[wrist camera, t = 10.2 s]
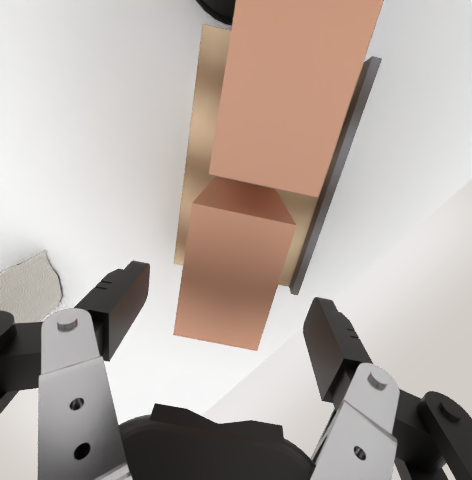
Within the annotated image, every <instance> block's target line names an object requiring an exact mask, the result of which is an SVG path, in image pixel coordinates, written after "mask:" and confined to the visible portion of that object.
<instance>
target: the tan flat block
mask: <svg viewBox="0 0 472 480" xmlns="http://www.w3.org/2000/svg"><path fill="white" fill-rule="evenodd" d="M230 35H231V31H230V30H226V29H222V28H218V27H213V26H209V25H205V24H203V26H202V34H201V42H200V51H199V59H198V67H197V75H196V84H195V92H194V100H193V108H192V117H191V125H190V133H189V141H188V150H187V158H186V166H185V175H184V183H183V191H182V199H181V208H180V216H179V224H178V232H177V241H176V249H175V257H174V264H178V265H183V264H184V257H185V250H186V243H187V236H188V229H189V221H190V214H191V207H192V203H193V202H194V200H195V199H196V198H197V197H198V196H199V195H200V194H201V192H202V191H203V190H204V189H205V188H206V187H207V186H208V184H209V183H210V182H211V181H212V180H213V179H214V178H215V177H219V178H223V179H228V180H233V181H237V182H242V183H246V184H251V185H256V186H260V187H265V188H269V189H274V190H276V191H277V192H278V194H279V196H280V198H281V199H282V201H283V203H284V204H285V206H286V208H287V210H288V211H289V213H290V215H291V216H292V218H293V220H294V222H295V223H296V225H297V226H296V229H295V232H294V236H293V239H292V242H291V245H290V248H289V251H288V255H287V258H286V261H285V264H284V267H283V270H282V273H281V277H280V280H279V283H278V284H279V285H284V286H289V288H290V291H291V294H294V295H298V293H299V290H300V287H301V285H302V282H303V279H304V276H305V273H306V271H307V268H308V265H309V262H310V259H311V257H312V254H313V251H314V248H315V245H316V242H317V240H318V237H319V234H320V231H321V228H322V226H323V223H324V220H325V217H326V214H327V212H328V209H329V206H330V203H331V200H332V197H333V195H334V192H335V189H336V186H337V183H338V181H339V178H340V175H341V172H342V169H343V167H344V164H345V161H346V158H347V155H348V153H349V150H350V147H351V144H352V141H353V138H354V136H355V133H356V130H357V127H358V124H359V122H360V119H361V116H362V113H363V110H364V108H365V105H366V102H367V99H368V96H369V93H370V91H371V88H372V85H373V82H374V79H375V77H376V74H377V71H378V68H379V65H380V63H381V60H382V59H381V58H377V57H371V58H370V59H368V60H367V61H365V62H363V64H362V67H361V70H360V73H359V76H358V79H357V82H356V85H355V88H354V91H353V94H352V97H351V100H350V103H349V106H348V109H347V112H346V115H345V118H344V121H343V124H342V127H341V130H340V133H339V136H338V139H337V142H336V145H335V148H334V151H333V154H332V157H331V160H330V163H329V166H328V169H327V172H326V175H325V178H324V181H323V184H322V187H321V190H320V193H319V196H318V197H314V196H309V195H305V194H300V193H295V192H291V191H286V190H281V189H277V188H272V187H267V186H262V185H258V184H253V183H248V182H244V181H239V180H234V179H230V178H225V177H220V176H216V175H211V174H209V169H210V162H211V156H212V150H213V143H214V137H215V131H216V124H217V118H218V112H219V105H220V99H221V93H222V86H223V80H224V73H225V67H226V61H227V54H228V48H229V42H230Z"/></svg>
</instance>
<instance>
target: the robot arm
mask: <svg viewBox="0 0 472 480" xmlns="http://www.w3.org/2000/svg"><path fill="white" fill-rule="evenodd" d="M149 274H150V265H149V264H148V263H143V262H138V261H132V262H131V263H130V264H129V265H128V266H127V267H126V268H125V269H124V270H123V269H117V270H115V271H113V272H111V273H108V274H107V275H106V276H105V277H104V278H103V279H102V280H101V282H99V283H98V284H97V285H96V287H95V288H93V289H92V290H91V291H90V292H89V293H88V294H87V295H86V296H85V297H84V298H83V299H82V300H81V301H80V302H79V303H78V304H77V305H76V306H75V307H74V308H70V309H64V310H61V311H58V312H56V313H54V314H52V315H50V316H49V317H48V318H47V319H46V320H45V321H44V322H30V323H15V319H14V316H13V315H12V314H11V313H10V312H7V311H1V310H0V413H1V412H2V411H3V410H4V408H5V407H6V406H7V405H8V404H9V402H10V401H11V400H12V399H13V397H14V396H15V395H16V394H17V393H18V391H19V390H25V389H33V388H39V403H38V480H391V478H392V472H393V466H394V462H395V465H396V467H397V470H398V472H399V475H400V477H401V480H448V478H447V476H446V475H445V473H444V471H443V469H442V467H443V465H445V464H446V463H447V464H448V466H449V468H450V470H451V471H452V473H453V475H454V477H455V479H456V480H472V419H471V417H470V416H469V415H468V413H467V412H466V411H465V410H464V409H463V408H462V407H461V406H460V405H458V404H457V403H456V402H454V401H453V400H452V399H450V398H449V397H447V396H445V395H443V394H441V393H438V392H434V391H430V392H427V393H426V394H425V395H424V397H423V398H422V399H420V398H418V397H416V396H413V395H412V394H409V393H407V392H405V391H403V390H400V389H399V387H398V385H397V383H396V381H395V380H394V379H393V378H392V377H391V376H390V375H389V374H388V373H387V372H386V371H385V370H383V369H382V368H380V367H378V366H376V365H374V364H373V363H372V361H371V359H370V357H369V355H368V354H367V352H366V350H365V348H364V346H363V344H362V343H361V341H360V339H358V338H359V337H358V335H357V334H356V332H355V330H354V328H353V326H352V324H351V322H350V321H349V320H348V319H347V318H346V317H345V316H344V315H343V314H342V313H340V312H338V310H337V309H336V307H335V305H334V303H333V301H332V300H328V299H323V298H318V297H315V298H314V300H313V302H312V304H311V307H310V309H309V312H308V314H307V317H306V319H305V322H304V326H303V334H304V338H305V341H306V345H307V348H308V352H309V356H310V360H311V363H312V367H313V370H314V374H315V377H316V381H317V385H318V388H319V392H320V396H321V399H322V401H326V402H331V403H333V404H334V407H335V409H334V410H333V412H332V414H331V417H330V419H329V421H328V423H327V425H326V427H325V429H324V431H323V433H322V436H321V438H320V440H319V442H318V444H317V447H316V448H315V451H314V453H313V455H312V457H311V458H309V457H308V456H307V455H306V454H305V453H304V452H303V451H302V450H301V449H299V448H298V447H297V446H296V445H294V444H293V443H291V442H290V441H288V440H286V439H284V437H283V428H282V426H281V425H275V424H269V423H264V422H258V421H252V420H250V421H242V422H233V423H224V424H217V423H215V422H213V421H210V420H209V419H206V418H204V417H202V416H200V415H198V414H196V413H194V412H192V411H190V410H188V409H184V408H178V407H173V406H167V405H161V404H156V403H155V405H154V408H153V411H152V414H151V415H145V416H140V417H136V418H134V419H131V420H128V421H126V422H124V423H122V424H120V425H118V422H117V417H116V413H115V408H114V404H113V400H112V395H111V391H110V387H109V382H108V378H107V373H106V369H105V365H104V361H110V359H111V358H112V356H113V354H114V353H115V351H116V349H117V348H118V346H119V345H120V343H121V341H122V340H123V338H124V336H125V335H126V333H127V331H128V330H129V328H130V327H131V325H132V323H133V322H134V320H135V318H136V317H137V315H138V313H139V312H140V310H141V309H142V307H143V305H144V304H145V301H146V299H147V295H148V288H149Z"/></svg>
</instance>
